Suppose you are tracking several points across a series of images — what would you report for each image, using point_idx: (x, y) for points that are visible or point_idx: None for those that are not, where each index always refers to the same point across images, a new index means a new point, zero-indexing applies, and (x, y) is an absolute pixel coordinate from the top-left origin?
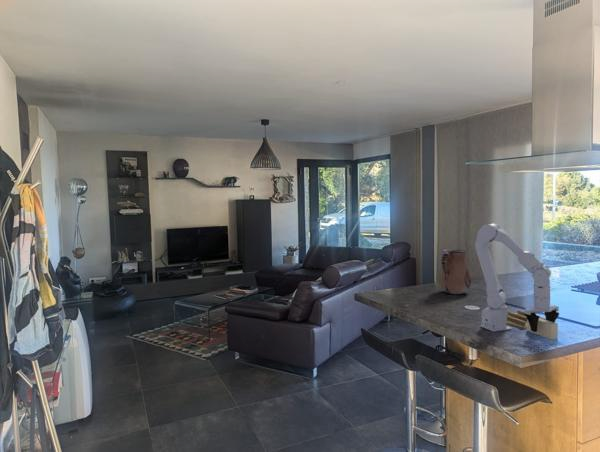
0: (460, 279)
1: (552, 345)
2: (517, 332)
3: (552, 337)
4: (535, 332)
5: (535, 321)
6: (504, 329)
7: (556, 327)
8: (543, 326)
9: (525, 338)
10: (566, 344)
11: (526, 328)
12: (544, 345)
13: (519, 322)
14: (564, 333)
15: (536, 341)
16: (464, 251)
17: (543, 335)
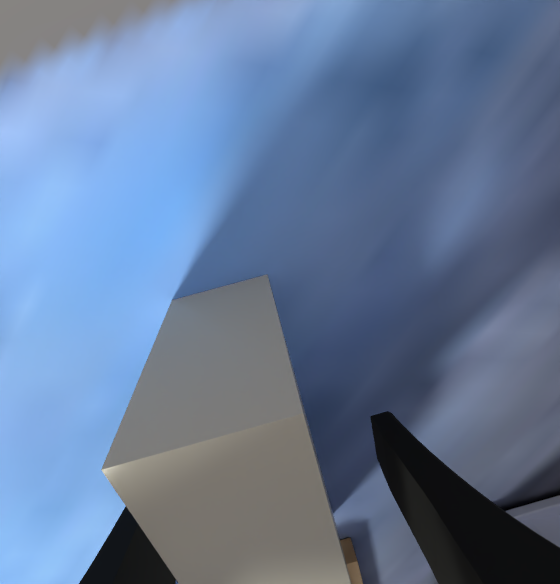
0: None
1: (408, 23)
2: None
3: (250, 288)
4: (317, 457)
5: (531, 542)
6: (514, 514)
7: (158, 394)
8: (320, 471)
9: (508, 324)
10: (176, 35)
11: None
12: (509, 44)
13: None
14: (3, 454)
15: (479, 221)
16: None
17: (295, 377)
